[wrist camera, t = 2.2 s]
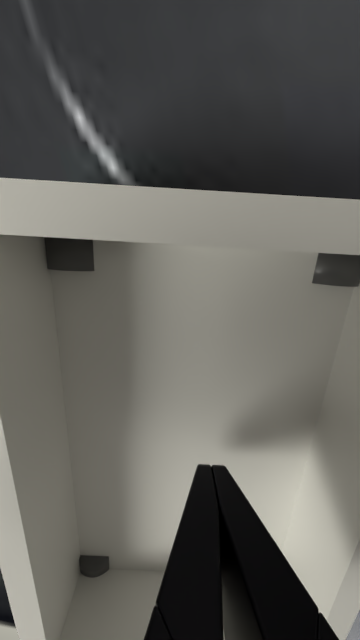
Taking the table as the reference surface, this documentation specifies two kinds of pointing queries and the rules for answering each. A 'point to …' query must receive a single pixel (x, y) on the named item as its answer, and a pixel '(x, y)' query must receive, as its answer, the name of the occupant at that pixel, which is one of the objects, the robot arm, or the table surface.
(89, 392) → the white open storage bin
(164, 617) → the robot arm
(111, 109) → the table surface
